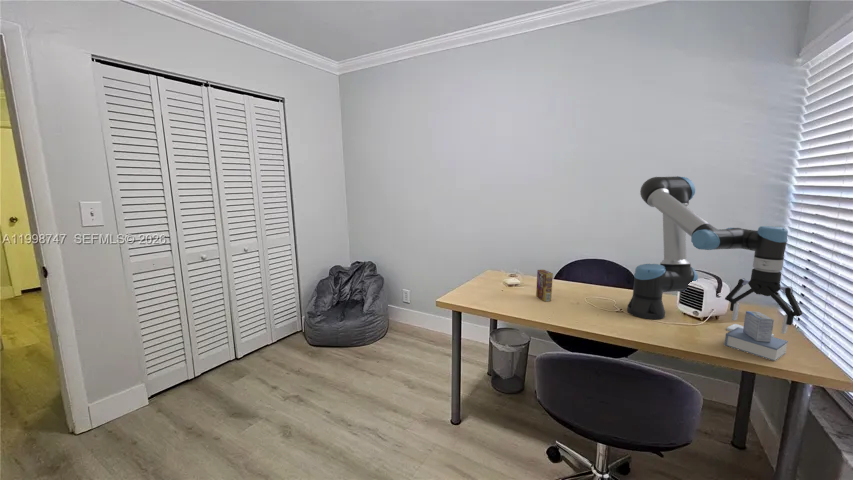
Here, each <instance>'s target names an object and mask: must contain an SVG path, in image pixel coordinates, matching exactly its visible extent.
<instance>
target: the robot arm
mask: <svg viewBox="0 0 853 480" xmlns="http://www.w3.org/2000/svg"><path fill="white" fill-rule="evenodd" d="M639 194H640V197H641V199H642V200H643V201H644V203H645V204H646V205H648V206H649V207H651V208H655V209H656V210H658V211H659V212H660V213H662V231H663V232H662V235H663V260H662V261H660V263H643V264H639V265H637V266H636V267H635V270H634V275H633V276H634V279H633V287H632V297H631V298H630V299H629V302H628V304H627V308H626V311H627V312H628V314H630V315H632V316H634V317H637V318H642V319H645V320H646V319H647V320H663V319H664V318H665V317H666V311H665V307H664V304H663V293H671V292H672V293H673V292H678V293H679V292H686V291H685V289H686V290H687V287H688V284H689V283H690V282H692V281H696V280H697V281H698V279H699V277H698V273H697V271H696V270H695V268H693V267H692V265H691V262H690V261H689V260H688V259H687V242H686V241H687V236H686V235H689V236H690V237H691V239H690V240H691V243H692V245H693V247H694V248H696V249H698V250H705V251H713V250H714V251H715V250H732V249H733V250H736V249H740V250H747V251H753V252H754V254H753V255H754V256H753V262H752V269H751V276H750V280H749V279H746V278H743V277H742V278H739V280H738V282H737V284H736V286H734V287H733V288H732V290H731V291H730V292H729V293H728V294H727V295H726V296H725V298H724V300H726V301H728V302H730V306H729V310H730V311H731V312H732V314H731V315H732V316H731V317H732V318H731V321H734V322H735V321H736V320H738V317H739V308H740V302H738V301H741V300H742V299H744V298H746V297H748V296H749V295H752V293H754V294H756V295H759V296H760V295H761V296H765V297H771V298H772V299H773V300H774V301H775V302H776V303H777V304H778V305H779V307H780V309H782V310H783V311H784V313H785V314H784V315H783V320H782V327H781V332H780V333H781V334H786V333H787V332H788V327H789V326H792V325H793V322H794V318H795V317H801V316H802V315H803V311H802V310H801V308H800V306H799V303H798V301H797V300H796V297H795V295H794V293H793V292H794V291H793V289H794V288H793V287H792V286H782V285H781V280H782V273H783V272H781V271H783V267H784V261H785V251H786V247H787V244H788V241H789V240H788V233H789V232H788V231H789V230H788V229H787V228H785V227H783V226H773V225H771V226H770V225H762V226H759V227H758V229H757V230H754V229H747V228H741V227H728V228H724V229H718V228H716V227H715V226H714V225H712V224H710V223H709V222H708V221H706V220H705V219H703V218H702V217H701V216H700V215H698V214H697V213H695V212H694V211H693V210H691V209H690V208H688V206H690V201H691V200H692V199H693V198H694V196H695V194H696V186H695V183H694V182H693V181H692V179H690V178H688V177H685V176H678V175H677V176H653V177H650V178H648V179H647V180H645V181H644V182H643V183H642V184H641V187H640V193H639ZM746 285H748V286H749V287H750V288H749V289H747V290H746V291H744V292H743V293H741V294H739V295H738V296H736V297H735V295H737V293H738V292H739V291H740V290H741V289H742V288H743V287H744V286H746ZM687 291H688V290H687ZM779 291H782V293H783V294H785V297H786V299H787V301H788V303H789V305H790V306H789V305H788V303H786V302H785V300H784V299H783V298H782V297H781V295H780V294H779Z"/></svg>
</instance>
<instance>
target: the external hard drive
mask: <svg viewBox="0 0 853 480" xmlns="http://www.w3.org/2000/svg"><path fill="white" fill-rule="evenodd" d="M738 327H739V328H742V329H743V328H744V325H741V324H738V323H733V324H731V325H729V326H727V327H726V331H728V332H730V331H732V330H734V329H736V328H738ZM772 337H775V334H774V333H772Z"/></svg>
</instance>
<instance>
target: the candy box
mask: <svg viewBox="0 0 853 480" xmlns="http://www.w3.org/2000/svg"><path fill="white" fill-rule="evenodd" d="M536 275H537V277H536V289H535V291H536V293H535V297H537V298H538V299H540V300H541V301H543V302H551V301H552V293H553V292H552V291H553V281H554V280H553V276H554V274H553V272H550V271H549V270H546V269H537V274H536Z"/></svg>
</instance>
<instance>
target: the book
mask: <svg viewBox="0 0 853 480" xmlns="http://www.w3.org/2000/svg"><path fill="white" fill-rule="evenodd" d="M724 345H725V347H728V346H729V347H728V348H731V347H732V348H731V349H734V348H735V349H734V350H737V349H739V350H738V351H740V350H741V351H740V352H743V351H745V352H744V353H746V352H748V353H747V354H749V353H751V354H750V355H752V354H754V355H753V356H756V355H757V357H759V356H760V357H759V358H762V357H764V358H763V359H765V358H767V359H766V360H768V359H770V360H769V361H771V360H773V361H772V362H774V361H775V360H776V361H778V360H779V359H780V358H782V357H783V356H785V355H786V354H785V353H786V352H787V348H788V347H787V346H788V340H785V339H781V338H778V337H775V336H774V337H771V342H761V341H756V340H754V339H753V338H751V337H750V336H748V335H747V334H745V333H744V332H743V329H742V328H739V327H738V328H736V329H734V330H732V331H728V332H727V333H725V337H724ZM782 355H783V356H782ZM781 356H782V357H781ZM778 358H779V359H778ZM777 359H778V360H777ZM776 361H775V362H776Z"/></svg>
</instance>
